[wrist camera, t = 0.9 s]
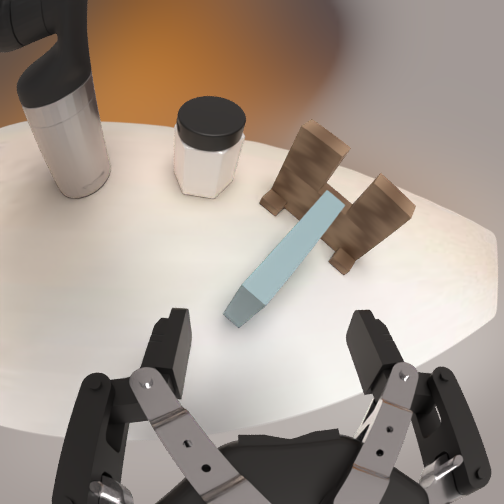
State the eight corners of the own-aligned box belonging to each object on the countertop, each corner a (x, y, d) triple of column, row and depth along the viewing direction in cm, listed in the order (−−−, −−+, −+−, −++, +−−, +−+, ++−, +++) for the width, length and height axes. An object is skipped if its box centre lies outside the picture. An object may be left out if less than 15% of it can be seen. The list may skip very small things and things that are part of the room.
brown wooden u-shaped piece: (259, 203, 40) (290, 133, 27) (285, 179, 43) (320, 113, 30) (343, 275, 38) (406, 230, 26) (362, 244, 41) (419, 196, 29)
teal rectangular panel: (238, 327, 32) (265, 305, 21) (222, 314, 32) (241, 284, 22) (303, 251, 38) (345, 205, 28) (289, 239, 38) (327, 189, 28)
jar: (201, 147, 42) (210, 87, 31) (241, 173, 41) (261, 114, 31) (162, 179, 38) (160, 116, 27) (205, 210, 37) (214, 148, 27)
